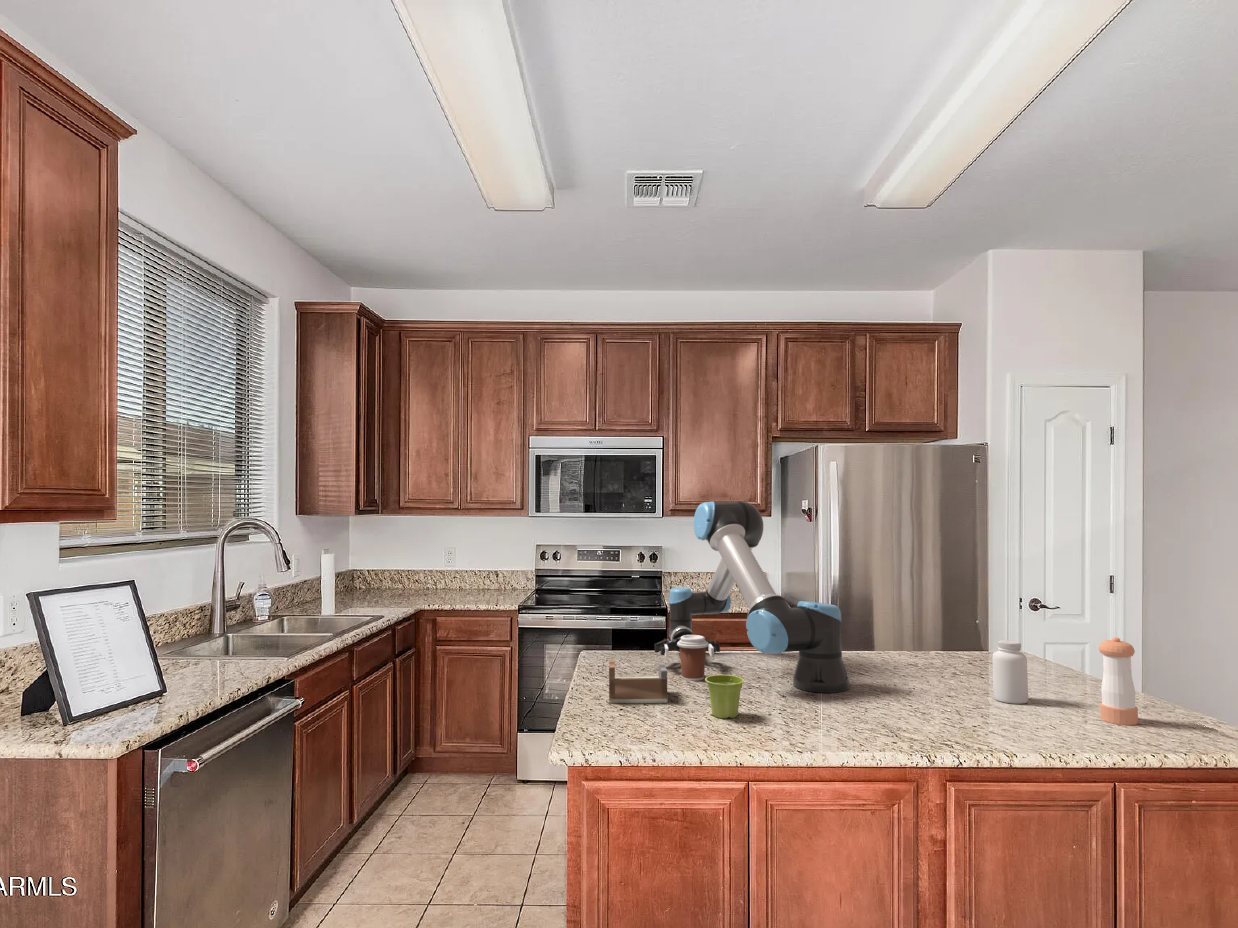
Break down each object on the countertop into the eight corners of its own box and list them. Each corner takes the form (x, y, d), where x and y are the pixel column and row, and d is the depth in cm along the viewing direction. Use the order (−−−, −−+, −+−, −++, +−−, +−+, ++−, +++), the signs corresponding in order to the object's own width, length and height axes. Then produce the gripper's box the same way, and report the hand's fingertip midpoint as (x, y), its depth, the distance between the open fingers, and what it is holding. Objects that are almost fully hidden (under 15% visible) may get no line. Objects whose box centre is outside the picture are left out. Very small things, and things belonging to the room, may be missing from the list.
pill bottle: (1027, 698, 195) (1025, 639, 196) (1029, 706, 188) (1027, 645, 189) (993, 695, 199) (991, 637, 199) (994, 702, 191) (992, 643, 192)
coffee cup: (708, 674, 224) (707, 634, 224) (709, 682, 215) (708, 639, 215) (677, 674, 225) (677, 633, 225) (677, 681, 216) (676, 639, 216)
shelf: (609, 680, 218) (609, 648, 218) (661, 679, 218) (660, 648, 219) (609, 703, 194) (609, 667, 194) (667, 702, 194) (667, 667, 194)
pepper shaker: (1139, 726, 170) (1135, 641, 171) (1100, 722, 174) (1097, 638, 175) (1137, 718, 177) (1134, 636, 177) (1100, 714, 180) (1097, 633, 181)
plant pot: (750, 713, 184) (749, 677, 184) (735, 723, 176) (735, 685, 176) (714, 707, 189) (714, 672, 189) (699, 717, 180) (698, 680, 181)
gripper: (721, 650, 246) (731, 665, 225) (645, 651, 246) (648, 665, 225) (721, 627, 247) (731, 639, 225) (645, 628, 247) (648, 640, 225)
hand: (689, 652), depth 225 cm, fingers open, 13 cm apart
